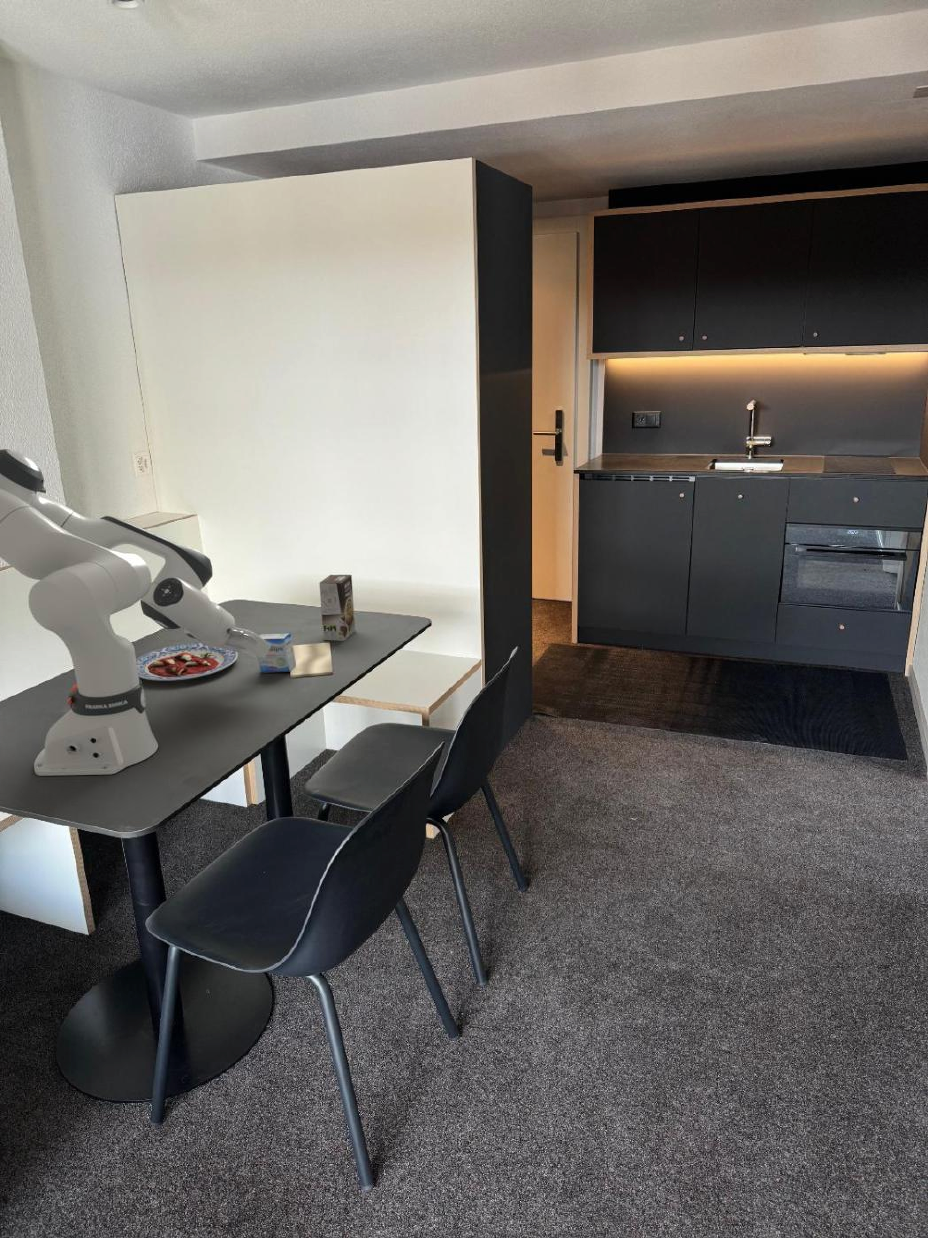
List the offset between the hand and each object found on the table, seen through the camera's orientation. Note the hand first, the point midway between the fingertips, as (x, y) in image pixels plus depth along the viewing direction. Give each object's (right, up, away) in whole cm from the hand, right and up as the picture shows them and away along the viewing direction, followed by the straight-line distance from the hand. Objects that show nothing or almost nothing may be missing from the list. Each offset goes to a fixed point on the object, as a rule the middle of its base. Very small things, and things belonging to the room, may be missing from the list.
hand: (251, 654), depth 207 cm
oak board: (+12, -2, +14) cm, 18 cm away
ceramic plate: (-19, -4, +12) cm, 23 cm away
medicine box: (+5, -4, +7) cm, 10 cm away
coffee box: (+16, +4, +32) cm, 36 cm away
